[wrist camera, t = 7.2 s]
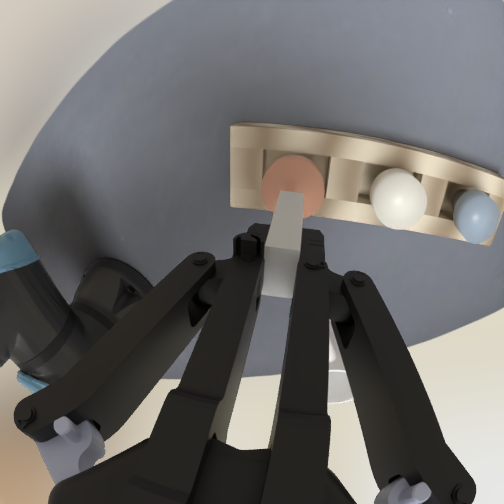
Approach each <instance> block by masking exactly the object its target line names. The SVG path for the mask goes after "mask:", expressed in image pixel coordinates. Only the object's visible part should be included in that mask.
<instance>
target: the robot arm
mask: <svg viewBox="0 0 504 504" xmlns="http://www.w3.org/2000/svg"><path fill="white" fill-rule="evenodd" d="M303 207H304V193H298V192H290V191H281V190H280V194H279V197H278V201H277V204H276V208H275V211H274V215H273V218H272V222H271V225H266V224H258V223H254V224H253V225H252V226H250V227H249V229H248V231H247V233H242V234H239V235H237V236H235V237H234V238H233V257H232V258H230V259H227V260H217V261H215V257H214V256H213V255H212V254H210V253H208V252H196V253H193V254H191V255H189V256H188V257H187V258H186V259H184V260H183V261H182V262H181V263H180V264H179V265H178V266H177V267H176V268H175V269H173V270H172V271H171V272H170V273H169V274H168V275H167V276H166V277H165V278H164V279H163V280H161V281H160V282H159V283H158V284H157V285H156V286H155V287H154V288H153V287H152V286H151V285H150V284H149V282H148V281H147V280H146V279H145V278H144V277H143V276H142V275H141V274H139V273H138V272H137V271H136V270H134V269H133V268H131V267H130V266H128V265H126V264H124V263H122V262H120V261H117V260H114V259H109V258H101V259H98V260H95V261H94V262H93V263H92V264H91V265H90V266H89V267H88V268H87V269H86V270H85V272H84V273H83V275H82V278H81V283H80V285H79V287H78V289H77V291H76V293H75V296H74V299H73V301H72V303H71V304H70V305H68V303H67V302H66V300H65V299H64V298H63V296H62V295H61V293H60V292H59V290H58V289H57V287H56V286H55V284H54V283H53V281H52V279H51V278H50V276H49V275H48V273H47V271H46V270H45V268H44V267H43V265H42V263H41V261H40V260H39V258H40V257H39V255H38V254H36V253H35V251H34V250H33V248H32V246H31V245H30V243H29V241H28V240H27V238H26V236H25V235H24V234H23V233H22V232H21V231H19V230H15V229H13V230H9V231H7V232H5V233H4V234H2V235H0V367H2V366H3V364H4V363H5V362H6V361H7V360H8V359H11V360H12V361H13V362H14V363H15V364H16V365H17V366H18V367H19V368H20V371H18V375H17V380H18V381H19V382H20V383H21V384H22V385H23V386H24V387H25V388H27V389H28V390H29V391H31V392H32V393H33V394H32V395H30V396H28V397H26V398H24V399H23V400H21V401H20V402H19V403H18V405H17V406H16V408H15V411H14V422H15V424H16V426H17V428H18V429H20V430H21V431H22V432H23V433H24V434H26V435H27V436H29V437H30V438H32V439H33V440H34V441H35V442H36V444H37V446H38V448H39V451H40V453H41V455H42V458H43V460H44V462H45V464H46V466H47V469H48V471H49V473H50V474H51V477H52V479H53V481H54V482H55V484H56V485H55V487H54V488H53V489H52V491H51V493H50V496H49V500H48V504H357V503H356V502H355V501H354V499H353V498H352V497H351V495H350V494H349V493H348V491H347V490H346V489H345V487H344V486H343V484H342V483H341V482H340V480H339V479H338V478H337V476H336V475H335V474H334V473H333V472H332V471H331V470H330V469H329V468H327V467H328V457H329V446H330V433H331V419H330V416H329V415H328V414H327V403H328V382H329V319H330V320H331V326H332V329H333V332H334V335H335V338H336V341H337V345H338V348H339V351H340V354H341V358H342V361H343V364H344V368H345V371H346V374H347V378H348V381H349V385H350V388H351V392H352V395H353V399H354V403H355V406H356V410H357V413H358V418H359V421H360V425H361V429H362V433H363V437H364V441H365V445H366V449H367V453H368V458H369V462H370V466H371V469H372V472H373V476H374V478H375V481H376V483H377V485H378V488H379V489H380V492H379V493H378V495H377V496H376V499H375V501H374V504H472V502H473V501H474V498H475V495H476V484H475V482H474V480H473V478H472V477H471V476H470V475H469V473H468V472H467V470H465V468H464V466H463V465H462V464H461V462H460V461H459V460H458V459H457V457H456V456H455V455H454V453H453V452H452V451H451V449H450V448H449V447H448V446H447V444H446V443H445V440H444V437H443V434H442V432H441V429H440V426H439V423H438V421H437V418H436V415H435V412H434V410H433V407H432V405H431V402H430V400H429V397H428V395H427V392H426V390H425V388H424V385H423V383H422V380H421V378H420V376H419V373H418V371H417V369H416V367H415V364H414V362H413V360H412V358H411V355H410V353H409V351H408V349H407V347H406V345H405V343H404V340H403V338H402V336H401V334H400V332H399V330H398V328H397V326H396V324H395V322H394V320H393V318H392V316H391V314H390V312H389V311H388V309H387V307H386V305H385V303H384V301H383V299H382V297H381V295H380V294H379V292H378V290H377V288H376V286H375V284H374V283H373V281H372V279H371V278H370V277H369V276H368V275H366V274H365V273H363V272H360V271H348V272H347V273H345V275H344V276H341V275H338V274H336V273H334V272H332V271H330V270H329V269H328V266H327V263H326V262H325V249H324V235H323V234H322V233H321V232H320V230H313V229H305V228H302V222H303ZM261 291H262V295H268V296H276V297H283V298H290V299H292V304H291V310H290V316H289V318H290V319H289V326H288V333H287V340H286V347H285V354H284V361H283V367H282V374H281V380H280V386H279V393H278V398H277V404H276V409H275V415H274V420H273V426H272V431H271V436H270V441H269V445H268V449H256V450H239V449H236V448H234V447H232V446H230V445H228V444H226V438H227V431H228V427H229V423H230V419H231V415H232V412H233V408H234V404H235V400H236V396H237V393H238V389H239V384H240V381H241V377H242V373H243V369H244V366H245V362H246V358H247V354H248V350H249V346H250V342H251V338H252V334H253V330H254V326H255V322H256V318H257V313H258V309H259V305H260V298H261ZM202 326H203V328H202V330H201V333H200V335H199V337H198V340H197V342H196V345H195V347H194V349H193V352H192V354H191V357H190V359H189V362H188V364H187V366H186V369H185V371H184V374H183V376H182V379H181V381H180V384H179V386H178V387H177V388H176V389H172V390H171V391H170V392H169V393H168V395H167V397H166V399H165V401H164V404H163V406H162V408H161V411H160V414H159V416H158V418H157V421H156V423H155V426H154V428H153V431H152V433H151V435H150V438H147V439H145V440H143V441H142V442H140V443H138V444H136V445H134V446H132V447H130V448H129V449H127V450H125V451H123V452H121V453H119V454H117V455H115V456H113V457H112V458H109V459H108V460H106V461H104V462H102V463H99V464H98V465H95V466H94V464H95V462H96V461H97V460H98V459H101V458H102V457H103V456H104V455H105V449H104V447H105V445H104V441H106V440H107V439H109V438H110V437H111V436H112V435H113V434H115V433H116V432H117V431H118V430H119V429H120V428H121V427H122V426H123V425H124V423H125V422H126V421H127V420H128V419H129V417H130V416H131V415H132V414H133V412H134V411H135V410H136V409H137V408H138V406H139V405H140V404H141V403H142V401H143V400H144V399H145V398H146V396H147V395H148V394H149V393H150V391H151V390H152V389H153V388H154V386H155V385H156V384H157V383H158V381H159V380H160V379H161V378H162V376H163V375H164V374H165V373H166V371H167V370H168V369H169V368H170V366H171V365H172V364H173V363H174V361H175V360H176V359H177V358H178V356H179V355H180V354H181V352H182V351H183V350H184V349H185V347H186V346H187V345H188V344H189V342H190V341H191V340H192V339H193V337H194V336H195V335H196V334H197V332H198V331H199V330H200V329H201V327H202Z"/></svg>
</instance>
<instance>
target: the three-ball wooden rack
mask: <svg viewBox="0 0 504 504" xmlns="http://www.w3.org/2000/svg"><path fill="white" fill-rule="evenodd" d="M292 154H293V155H301V156H304V157H306V158H308V159H310V160H312V161H313V162H314V163H315V164H316V165H317V166H318V168H319V169H320V171H321V173H322V176H323V182H324V190H325V193H324V199H323V202H322V204H321V206H320V207H319V209H318V210H317V211H316V212H315V213H314V214H312V215H311V216H317V217H325V218H332V219H339V220H346V221H353V222H360V223H367V224H373V225H380V226H385V225H384V224H382V223H381V222H380V220H379V219H378V217H377V216H376V213H375V211H374V209H373V207H372V204H371V202H370V188H371V185H372V183H373V181H374V180H375V178H376V177H377V176H378V175H379V174H380V173H382V172H383V171H385V170H388V169H392V168H400V169H404V170H406V171H408V172H409V173H411V174H412V175H413V176H414V177H415V178H416V179H417V180H418V181H419V182H420V183H421V184H422V186H423V187H424V189H425V192H426V195H427V206H426V210H425V212H424V214H423V216H422V217H421V219H420V220H419V221H418V222H417V223H416V224H414V225H413V226H411V227H409V228H406V229H404V230H410V231H415V232H421V233H427V234H432V235H437V236H443V237H448V238H453V239H458V240H463V241H467V240H466V239H465V238H464V237H463V235H462V234H461V233H460V232H459V230H458V229H457V228H456V226H455V224H454V220H453V211H454V210H453V209H452V206H451V200H452V197H453V195H454V194H455V193H456V192H457V191H458V190H460V189H465V190H467V191H468V190H471V189H478V190H481V191H483V192H484V193H485V194H486V195H487V196H489V197H490V198H491V199H492V200H493V201H494V202H495V203H496V204H497V206H498V209H499V221H498V225H499V222H500V219H501V216H502V214H503V211H504V177H502V176H501V175H500V174H498V173H495V172H493V171H490V170H488V169H485V168H482V167H480V166H477V165H474V164H471V163H468V162H465V161H462V160H459V159H456V158H453V157H450V156H447V155H444V154H440V153H437V152H433V151H430V150H426V149H422V148H419V147H415V146H411V145H407V144H403V143H398V142H394V141H390V140H385V139H380V138H375V137H370V136H365V135H359V134H354V133H348V132H341V131H335V130H328V129H320V128H312V127H303V126H293V125H282V124H269V123H251V122H237V123H235V124H233V125H231V126H230V207H239V208H249V209H258V210H268V211H270V210H269V209H268V208H267V206H266V205H265V203H264V201H263V199H262V196H261V183H262V180H263V177H264V175H265V173H266V171H267V169H268V168H269V166H270V165H271V164H272V163H273V162H274V161H275V160H276V159H278V158H280V157H282V156H285V155H292ZM498 225H497V227H498ZM386 227H387V226H386ZM496 230H497V228H496ZM496 230H495V231H494V233H493V234H492V236H491V237H490V238H489V239H487V240H486V241H484V242H482V243H479V244H482V245H487V246H490V245H491V243H492V240H493V238H494V235H495V233H496Z"/></svg>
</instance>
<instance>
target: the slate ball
mask: <svg viewBox="0 0 504 504" xmlns="http://www.w3.org/2000/svg"><path fill="white" fill-rule="evenodd" d="M451 206H452V209H453V210H454V211H453V220H454V224H455V226H456V228H457V229H458V230H459V232H460V233H461V234H462V235H463V237H464V238H465V239H466V240H467V241H468V242H470V243H472V244H479V243H482V242H484V241H486V240H487V239H489V238H490V237H491V236H492V234H493V233H494V231H495V230H496V228H497V225H498V221H499V209H498V206H497V204H496V203H495V202H494V201H493V200H492V199H491V198H490V197H489V196H487V195H486V194H485V193H484V192H483V191H481V190H478V189H471V190H468V191H467V190H465V189H460V190H458V191H457V192H456V193H455V194H454V195H453V197H452V200H451Z"/></svg>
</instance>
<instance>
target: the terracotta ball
mask: <svg viewBox="0 0 504 504" xmlns="http://www.w3.org/2000/svg"><path fill="white" fill-rule="evenodd" d="M280 190H281V191H290V192H298V193H304V207H303V219H304V218H307V217H309V216H311V215H312V214H314V213H315V212H316V211H317V210H318V209H319V207H320V206H321V204H322V202H323V199H324V193H325V190H324V182H323V176H322V173H321V171H320V169H319V168H318V166H317V165H316V164H315V163H314V162H313V161H312V160H310V159H308V158H306V157H304V156H301V155H293V154H292V155H285V156H282V157H280V158H278V159H276V160H275V161H274V162H273V163H272V164H271V165H270V166H269V168H268V169H267V171H266V173H265V175H264V177H263V180H262V183H261V196H262V199H263V201H264V203H265V205H266V206H267V208H268V209H269V210H270V211H271V212H272V213H274V211H275V208H276V204H277V201H278V197H279V194H280Z"/></svg>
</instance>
